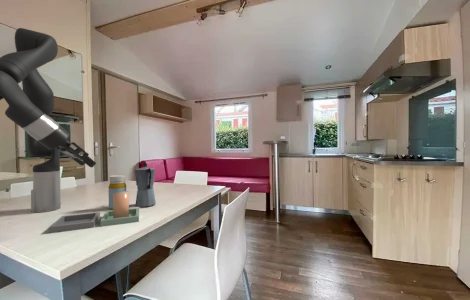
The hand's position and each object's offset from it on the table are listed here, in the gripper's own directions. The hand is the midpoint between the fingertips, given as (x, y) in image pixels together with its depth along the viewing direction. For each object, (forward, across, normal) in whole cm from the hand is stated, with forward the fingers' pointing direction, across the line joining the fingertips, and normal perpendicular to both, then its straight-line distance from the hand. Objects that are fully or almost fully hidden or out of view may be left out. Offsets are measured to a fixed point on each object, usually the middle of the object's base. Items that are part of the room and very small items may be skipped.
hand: (88, 164), depth 78 cm
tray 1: (+13, 0, +18) cm, 22 cm away
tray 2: (+21, -7, +9) cm, 24 cm away
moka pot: (+34, +5, -2) cm, 34 cm away
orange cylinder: (+20, -7, +9) cm, 23 cm away
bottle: (+26, +10, +5) cm, 29 cm away
